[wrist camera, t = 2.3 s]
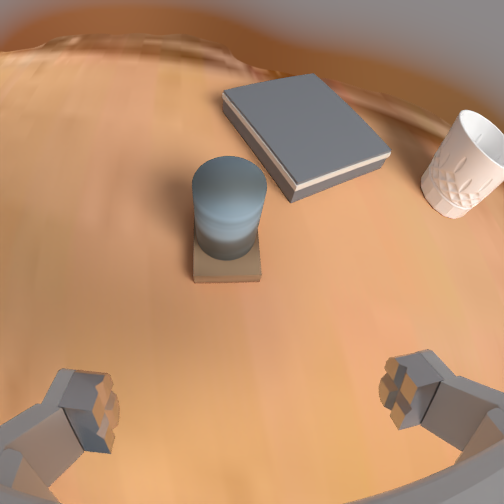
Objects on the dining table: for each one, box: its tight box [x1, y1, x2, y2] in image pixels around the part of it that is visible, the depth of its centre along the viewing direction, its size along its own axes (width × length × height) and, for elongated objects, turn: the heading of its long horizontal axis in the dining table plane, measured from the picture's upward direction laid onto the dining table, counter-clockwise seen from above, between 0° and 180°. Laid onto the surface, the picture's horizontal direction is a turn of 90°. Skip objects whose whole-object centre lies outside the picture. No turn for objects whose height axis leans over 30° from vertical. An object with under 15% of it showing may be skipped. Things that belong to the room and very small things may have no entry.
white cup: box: [421, 110, 504, 219], centre depth 28 cm, size 8×8×10 cm
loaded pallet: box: [192, 156, 267, 283], centre depth 23 cm, size 7×5×8 cm
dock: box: [222, 74, 391, 203], centre depth 32 cm, size 14×12×3 cm
